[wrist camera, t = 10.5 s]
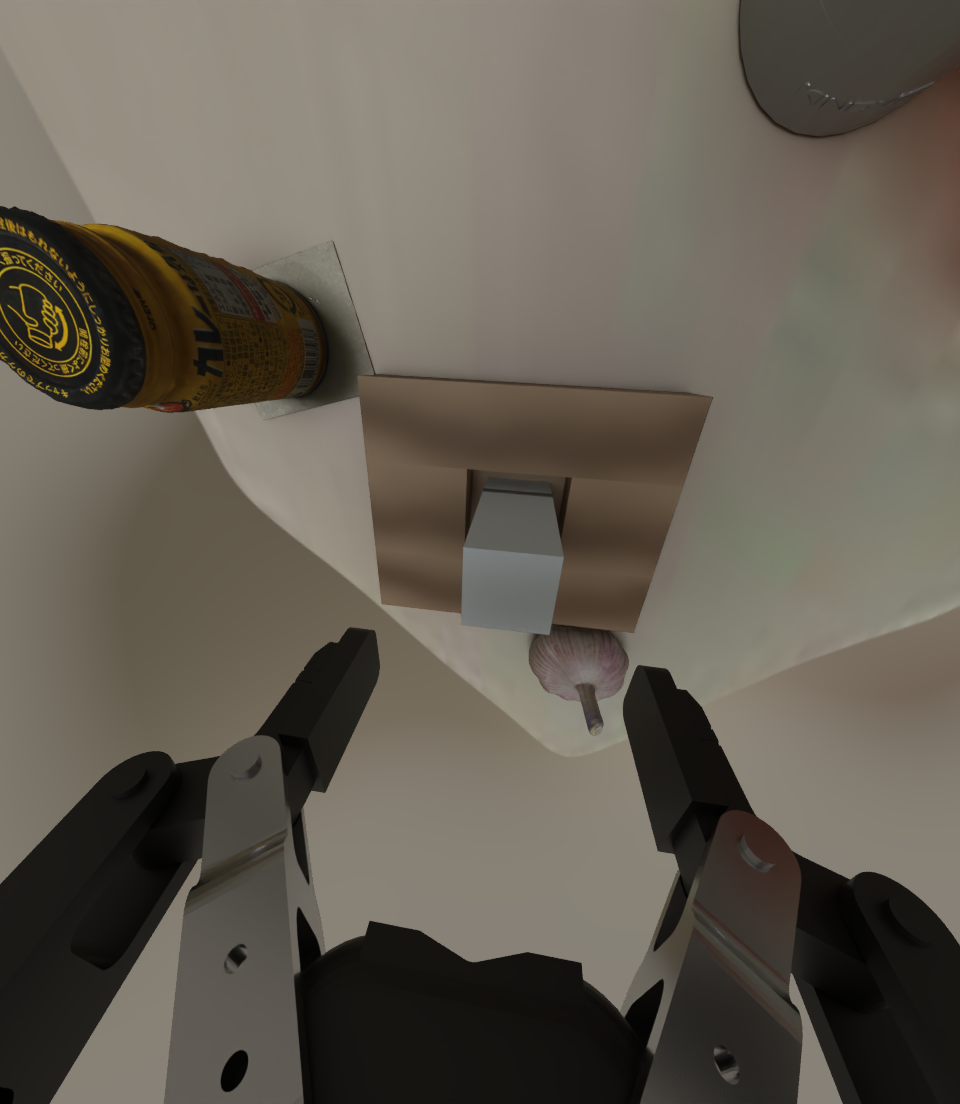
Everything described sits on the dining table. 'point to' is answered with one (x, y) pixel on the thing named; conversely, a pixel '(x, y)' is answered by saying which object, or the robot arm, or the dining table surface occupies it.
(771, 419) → the dining table surface
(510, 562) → the peg
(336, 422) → the dining table surface
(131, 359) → the condiment
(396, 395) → the board
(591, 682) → the garlic bulb
